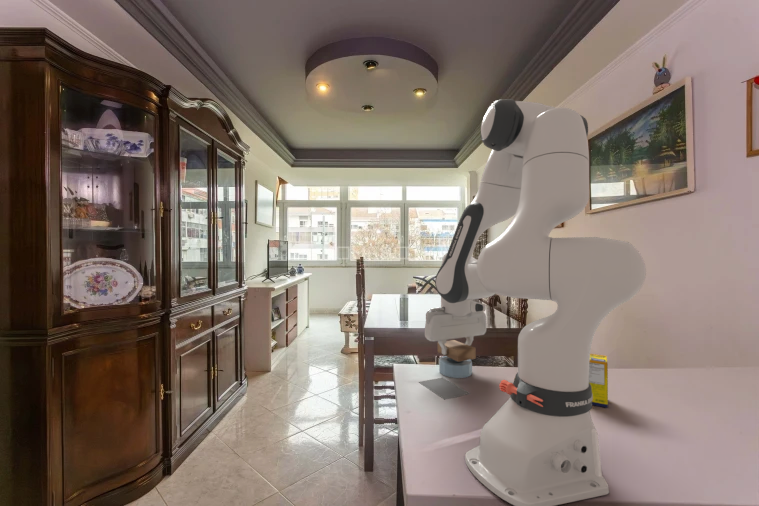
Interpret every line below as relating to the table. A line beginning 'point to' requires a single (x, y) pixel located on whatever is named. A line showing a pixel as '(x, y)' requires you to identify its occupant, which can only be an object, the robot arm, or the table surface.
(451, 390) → the mat
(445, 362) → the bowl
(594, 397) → the supplement box
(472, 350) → the tan rectangular sponge
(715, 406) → the table surface
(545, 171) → the robot arm
